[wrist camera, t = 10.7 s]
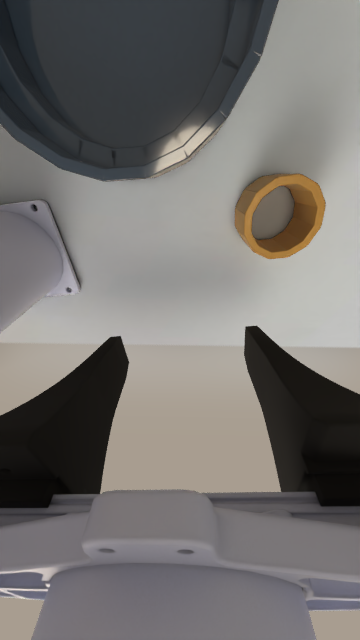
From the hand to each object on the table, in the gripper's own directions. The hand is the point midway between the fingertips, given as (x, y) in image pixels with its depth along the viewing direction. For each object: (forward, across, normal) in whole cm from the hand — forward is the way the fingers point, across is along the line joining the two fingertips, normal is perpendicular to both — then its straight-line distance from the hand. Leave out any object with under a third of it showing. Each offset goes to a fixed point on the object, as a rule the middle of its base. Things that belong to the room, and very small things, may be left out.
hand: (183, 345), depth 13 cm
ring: (+9, -7, -5) cm, 13 cm away
